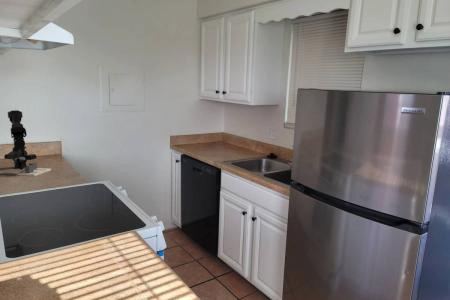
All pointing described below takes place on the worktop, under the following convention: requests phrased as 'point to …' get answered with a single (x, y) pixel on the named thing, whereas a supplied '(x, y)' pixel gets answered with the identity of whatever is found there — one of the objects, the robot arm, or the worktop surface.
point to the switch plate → (35, 172)
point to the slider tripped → (29, 168)
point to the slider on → (34, 164)
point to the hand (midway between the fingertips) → (21, 169)
